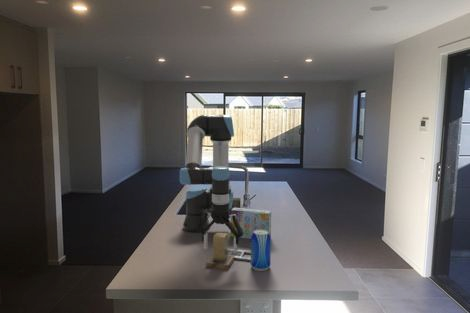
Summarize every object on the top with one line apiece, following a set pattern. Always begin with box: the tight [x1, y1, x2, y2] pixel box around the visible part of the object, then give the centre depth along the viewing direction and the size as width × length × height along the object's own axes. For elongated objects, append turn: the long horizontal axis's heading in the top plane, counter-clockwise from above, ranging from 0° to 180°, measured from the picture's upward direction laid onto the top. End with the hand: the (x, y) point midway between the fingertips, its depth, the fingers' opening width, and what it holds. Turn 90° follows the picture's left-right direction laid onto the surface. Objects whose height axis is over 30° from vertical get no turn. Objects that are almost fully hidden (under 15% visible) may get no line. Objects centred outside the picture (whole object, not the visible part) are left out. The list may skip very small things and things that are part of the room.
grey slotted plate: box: [227, 248, 251, 262], centre depth 163 cm, size 20×9×1 cm, turn 75°
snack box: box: [230, 207, 272, 240], centre depth 186 cm, size 21×6×15 cm, turn 71°
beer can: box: [250, 229, 272, 272], centre depth 151 cm, size 8×8×16 cm
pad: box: [205, 253, 235, 271], centre depth 156 cm, size 10×10×2 cm
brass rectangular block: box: [212, 232, 229, 262], centre depth 155 cm, size 5×5×11 cm
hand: (220, 249), depth 155 cm, fingers open, 13 cm apart
